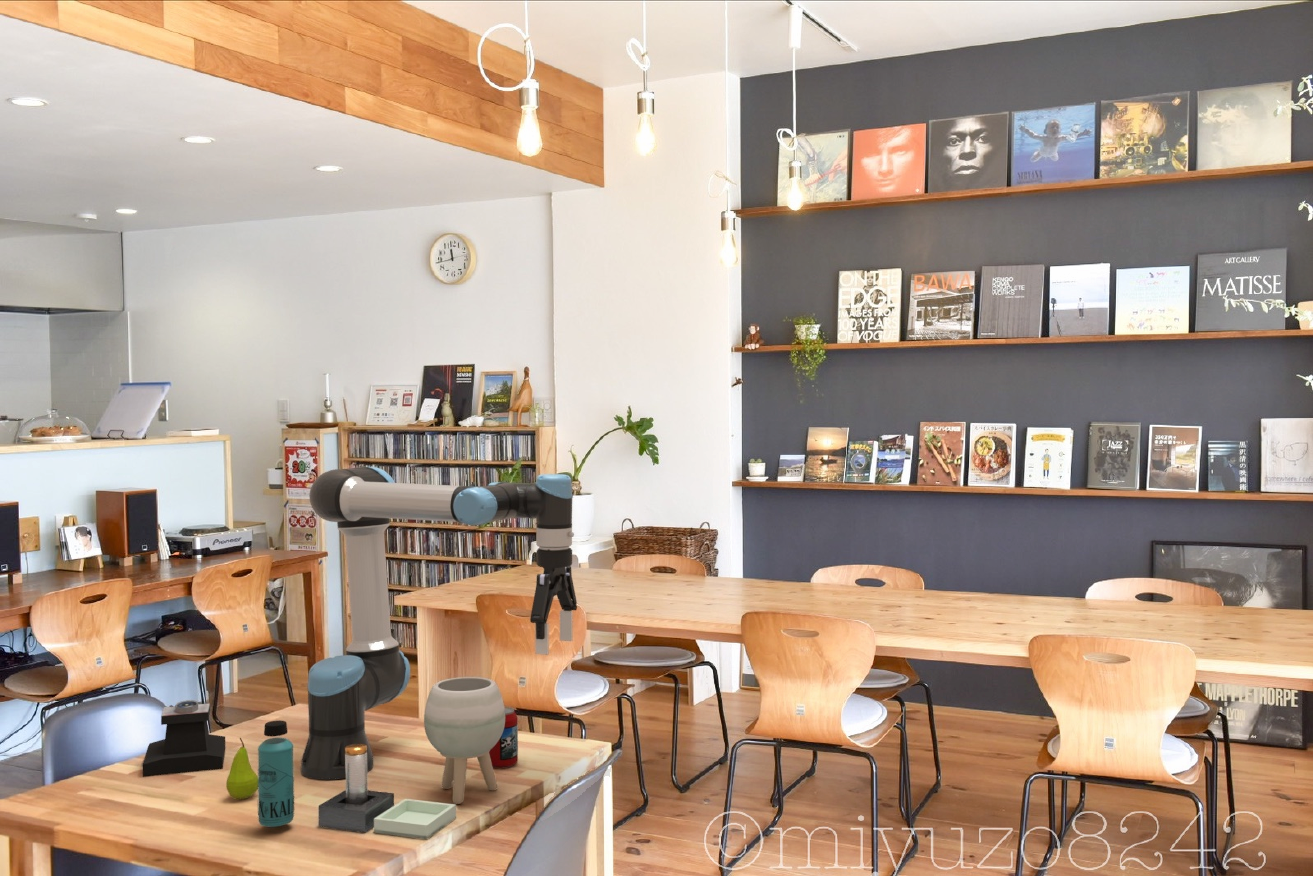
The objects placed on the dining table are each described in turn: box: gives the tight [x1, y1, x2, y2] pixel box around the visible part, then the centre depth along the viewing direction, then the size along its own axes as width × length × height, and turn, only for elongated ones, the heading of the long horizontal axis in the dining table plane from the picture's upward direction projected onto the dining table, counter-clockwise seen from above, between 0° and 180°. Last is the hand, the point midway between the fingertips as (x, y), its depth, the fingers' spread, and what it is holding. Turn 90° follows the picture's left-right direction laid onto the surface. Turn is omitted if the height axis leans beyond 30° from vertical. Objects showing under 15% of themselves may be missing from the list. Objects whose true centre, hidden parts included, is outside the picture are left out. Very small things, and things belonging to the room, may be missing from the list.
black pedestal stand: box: [142, 699, 227, 778], centre depth 246 cm, size 16×14×15 cm
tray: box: [373, 798, 457, 841], centre depth 209 cm, size 11×11×3 cm
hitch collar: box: [318, 789, 395, 834], centre depth 211 cm, size 10×10×4 cm
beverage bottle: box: [257, 719, 295, 828], centre depth 207 cm, size 6×7×20 cm
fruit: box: [226, 737, 258, 801], centre depth 224 cm, size 6×6×12 cm
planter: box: [423, 676, 505, 805], centre depth 225 cm, size 16×16×22 cm
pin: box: [345, 744, 369, 805], centre depth 211 cm, size 4×4×14 cm
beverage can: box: [489, 706, 519, 769], centre depth 244 cm, size 7×7×12 cm
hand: (554, 647), depth 236 cm, fingers open, 13 cm apart
